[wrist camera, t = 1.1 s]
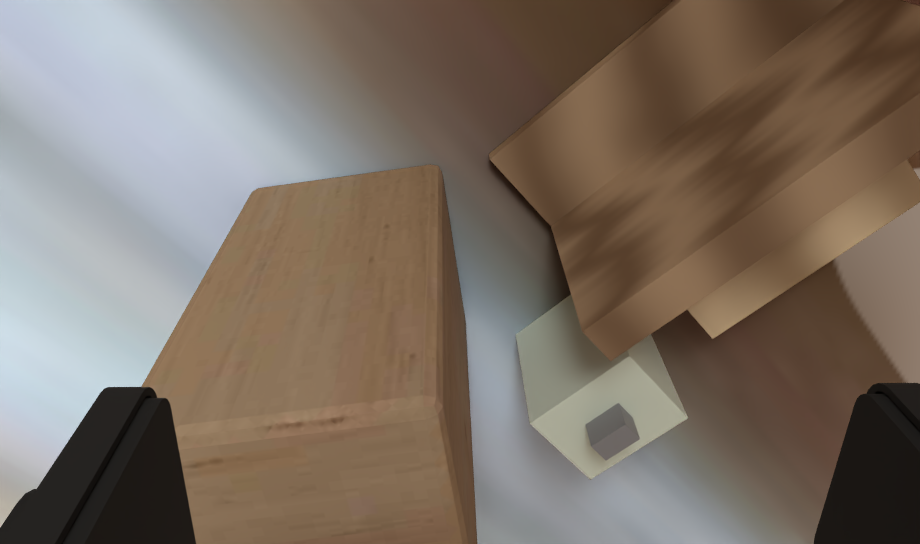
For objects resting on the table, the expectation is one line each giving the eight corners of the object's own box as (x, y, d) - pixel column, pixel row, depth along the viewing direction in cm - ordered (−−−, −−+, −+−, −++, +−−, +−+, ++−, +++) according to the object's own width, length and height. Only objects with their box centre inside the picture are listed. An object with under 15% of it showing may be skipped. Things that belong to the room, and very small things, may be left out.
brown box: (799, -105, 34) (943, -90, 24) (934, 125, 39) (1098, 213, 29) (488, 153, 39) (504, 250, 29) (644, 325, 44) (701, 455, 35)
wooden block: (466, 322, 44) (483, 631, 26) (296, 344, 44) (201, 661, 27) (440, 159, 39) (440, 403, 22) (250, 186, 40) (99, 446, 22)
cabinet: (598, 274, 43) (637, 376, 34) (651, 332, 45) (699, 442, 36) (515, 334, 44) (533, 445, 36) (569, 387, 46) (598, 504, 38)
